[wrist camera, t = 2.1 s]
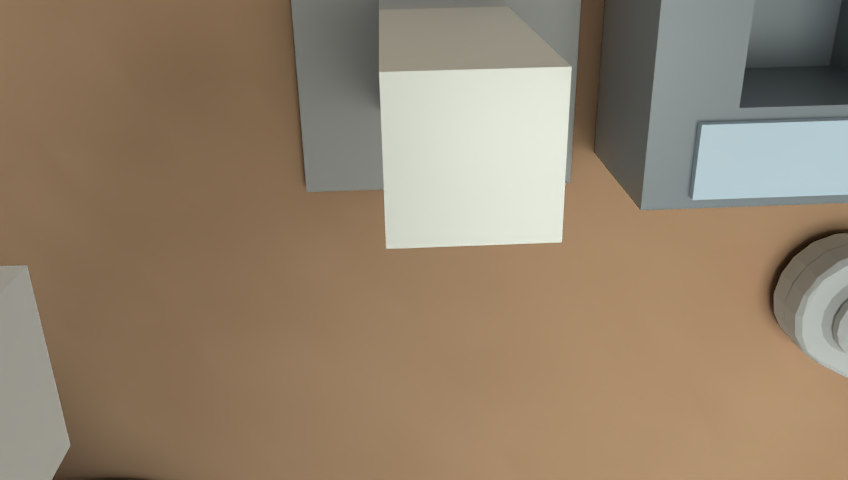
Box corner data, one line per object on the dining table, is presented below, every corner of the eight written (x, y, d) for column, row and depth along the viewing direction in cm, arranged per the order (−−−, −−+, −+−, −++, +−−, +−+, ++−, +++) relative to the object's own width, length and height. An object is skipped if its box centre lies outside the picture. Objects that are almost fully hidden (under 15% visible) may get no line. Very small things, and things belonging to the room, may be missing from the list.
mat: (307, 186, 31) (306, 191, 30) (285, -97, 27) (283, -97, 26) (566, 177, 31) (570, 183, 31) (582, -103, 27) (587, -103, 27)
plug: (383, 111, 29) (385, 248, 18) (378, -3, 27) (379, 72, 17) (493, 108, 29) (561, 242, 18) (495, -6, 28) (571, 66, 17)
